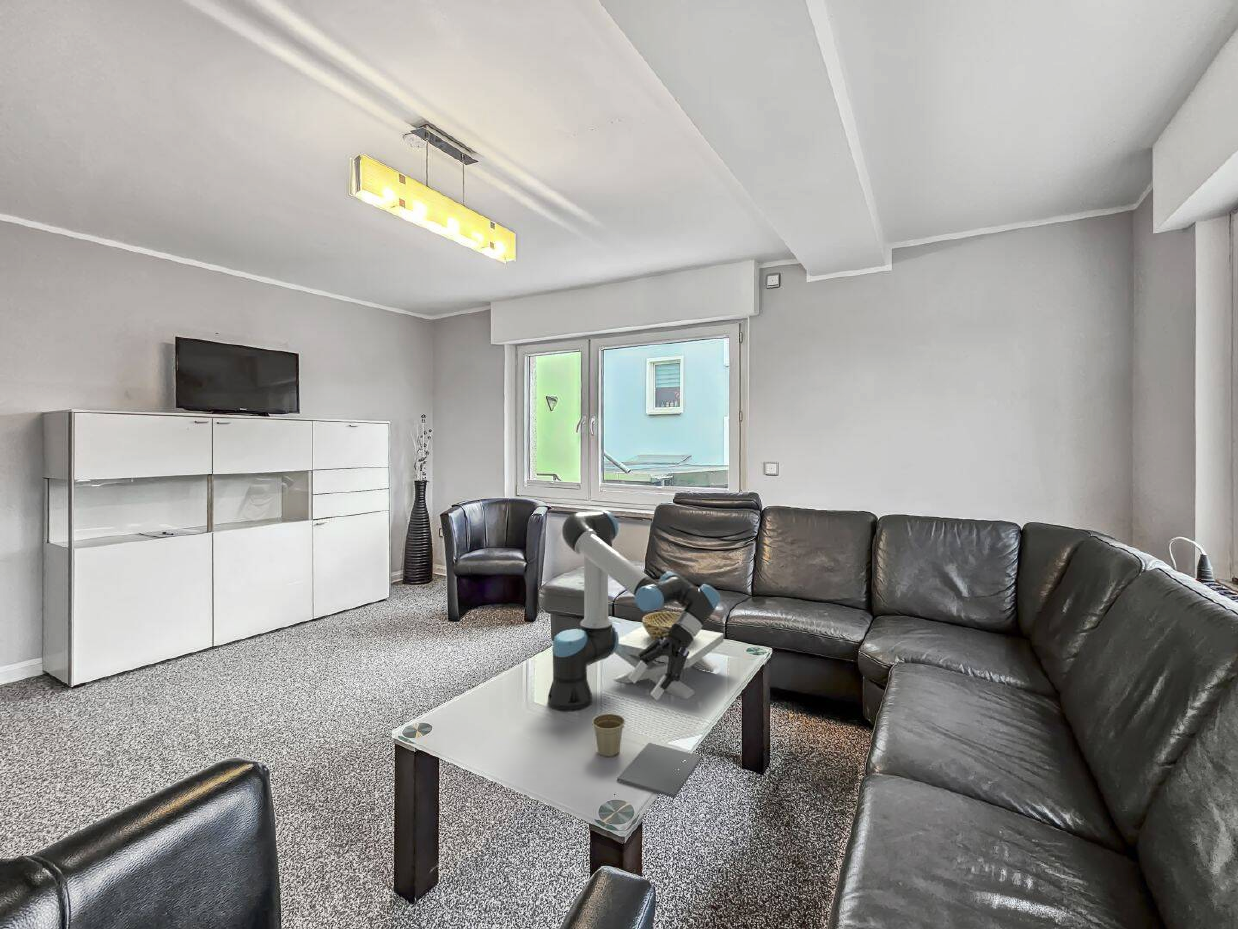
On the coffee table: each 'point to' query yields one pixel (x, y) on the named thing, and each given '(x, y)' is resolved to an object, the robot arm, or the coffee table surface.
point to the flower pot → (608, 733)
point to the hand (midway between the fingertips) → (642, 688)
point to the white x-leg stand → (650, 633)
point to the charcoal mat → (660, 769)
